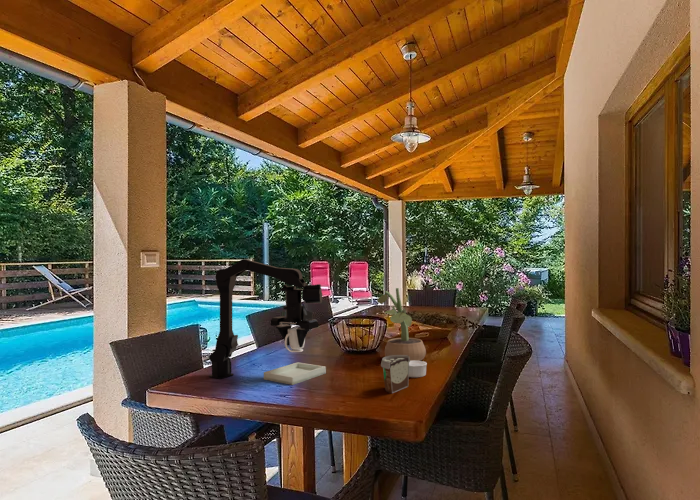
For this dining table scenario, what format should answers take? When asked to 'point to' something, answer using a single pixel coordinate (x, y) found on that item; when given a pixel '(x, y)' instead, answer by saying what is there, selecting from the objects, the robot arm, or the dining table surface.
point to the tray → (294, 373)
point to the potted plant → (402, 332)
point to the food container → (395, 372)
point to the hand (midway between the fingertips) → (294, 346)
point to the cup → (293, 341)
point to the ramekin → (417, 368)
